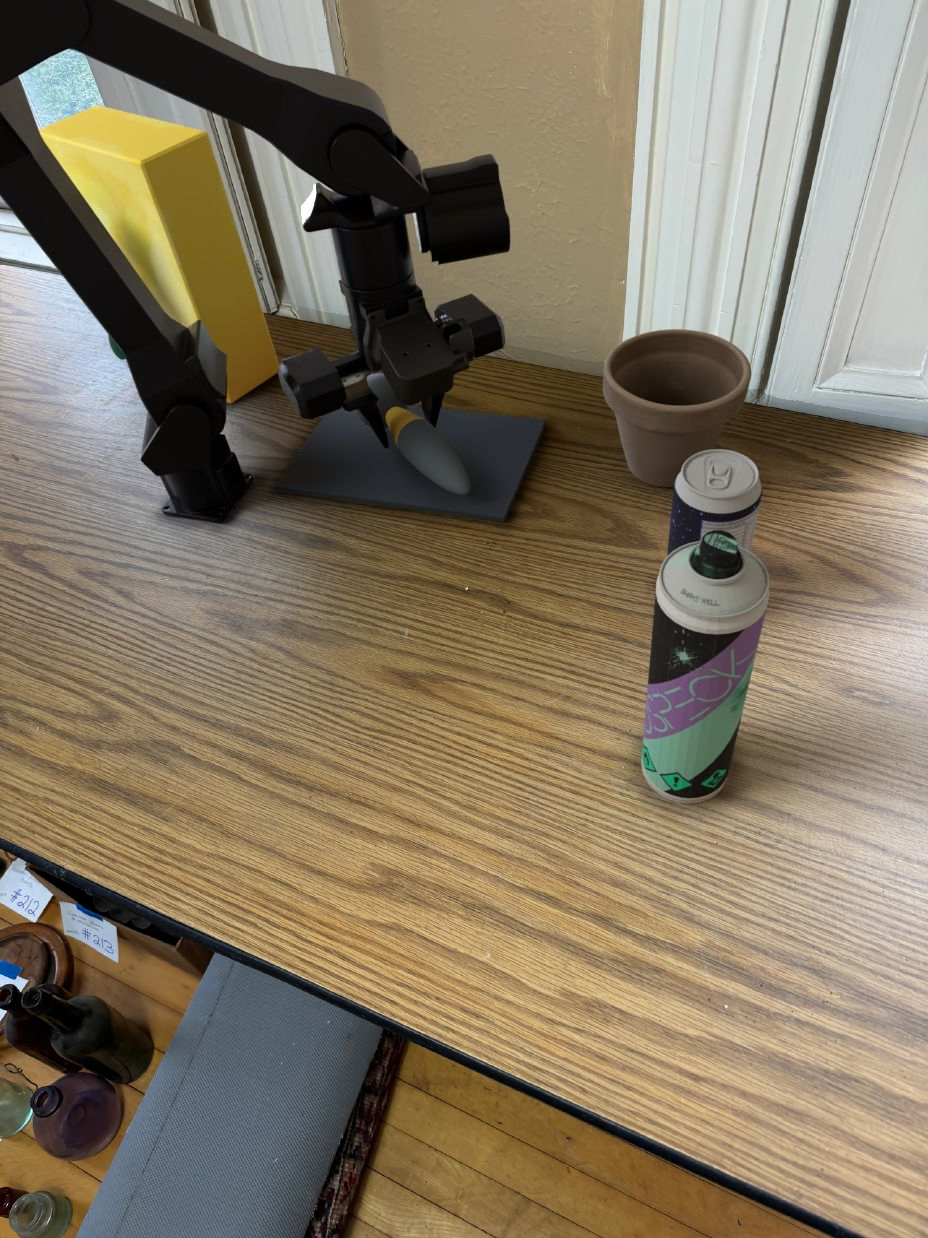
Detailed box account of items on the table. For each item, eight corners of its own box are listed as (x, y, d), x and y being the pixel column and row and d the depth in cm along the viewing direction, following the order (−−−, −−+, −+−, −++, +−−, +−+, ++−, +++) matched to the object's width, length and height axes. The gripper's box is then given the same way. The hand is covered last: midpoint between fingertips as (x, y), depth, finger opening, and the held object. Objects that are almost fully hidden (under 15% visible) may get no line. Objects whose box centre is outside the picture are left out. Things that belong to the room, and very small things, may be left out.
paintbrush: (503, 484, 74) (499, 437, 70) (458, 510, 72) (450, 464, 69) (380, 393, 86) (371, 348, 82) (338, 414, 84) (327, 369, 80)
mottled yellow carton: (97, 380, 95) (-17, 151, 77) (185, 328, 101) (97, 103, 83) (192, 430, 87) (88, 185, 69) (282, 371, 92) (208, 130, 74)
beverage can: (745, 576, 65) (770, 450, 56) (735, 631, 62) (760, 506, 53) (670, 565, 67) (683, 440, 58) (656, 617, 64) (667, 494, 55)
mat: (276, 491, 79) (274, 486, 78) (337, 402, 87) (335, 397, 87) (504, 523, 72) (504, 517, 72) (546, 424, 81) (546, 419, 80)
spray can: (632, 736, 57) (648, 511, 42) (714, 725, 57) (759, 495, 42) (651, 809, 53) (675, 590, 39) (739, 798, 53) (797, 574, 38)
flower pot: (760, 453, 75) (779, 350, 67) (691, 527, 70) (704, 424, 62) (647, 411, 80) (653, 312, 73) (576, 477, 75) (574, 378, 68)
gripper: (299, 358, 59) (346, 525, 71) (533, 275, 63) (541, 446, 75) (252, 294, 66) (301, 455, 78) (465, 223, 70) (482, 386, 82)
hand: (408, 437), depth 78 cm, fingers closed on paintbrush, 4 cm apart
